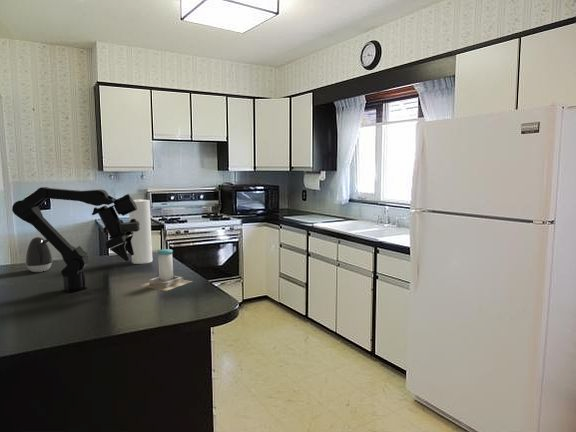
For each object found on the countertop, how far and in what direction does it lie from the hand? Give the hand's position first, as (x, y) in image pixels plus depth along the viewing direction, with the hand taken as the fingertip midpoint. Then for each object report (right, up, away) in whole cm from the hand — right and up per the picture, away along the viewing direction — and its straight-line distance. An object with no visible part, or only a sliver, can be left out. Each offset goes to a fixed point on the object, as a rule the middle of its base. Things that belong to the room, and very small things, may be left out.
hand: (130, 257), depth 157 cm
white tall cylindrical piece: (+13, -10, +2) cm, 17 cm away
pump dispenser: (-50, -9, +25) cm, 56 cm away
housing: (+13, -11, +2) cm, 17 cm away
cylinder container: (-10, -6, +42) cm, 44 cm away
